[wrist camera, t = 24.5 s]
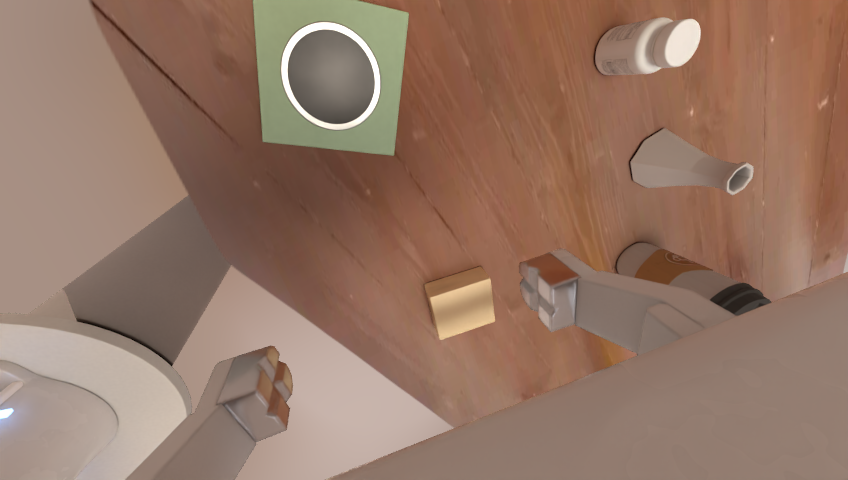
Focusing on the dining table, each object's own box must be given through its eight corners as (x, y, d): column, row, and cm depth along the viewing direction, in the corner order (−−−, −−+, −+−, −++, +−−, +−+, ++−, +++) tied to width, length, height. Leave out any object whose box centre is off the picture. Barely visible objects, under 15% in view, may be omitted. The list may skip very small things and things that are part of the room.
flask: (684, 155, 41) (777, 174, 32) (641, 196, 42) (720, 225, 34) (665, 116, 37) (764, 126, 29) (620, 162, 39) (700, 185, 30)
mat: (263, 140, 28) (262, 142, 27) (252, -24, 23) (250, -27, 22) (393, 154, 31) (394, 155, 31) (407, 14, 26) (409, 12, 26)
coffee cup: (665, 236, 47) (790, 294, 34) (640, 282, 50) (744, 351, 37) (624, 233, 45) (742, 294, 32) (600, 281, 48) (698, 354, 35)
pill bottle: (624, 74, 34) (695, 71, 27) (589, 76, 33) (654, 74, 26) (634, 26, 32) (714, 10, 25) (598, 27, 31) (670, 11, 24)
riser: (486, 307, 44) (495, 321, 42) (433, 325, 43) (439, 340, 41) (480, 265, 41) (490, 278, 38) (423, 283, 40) (429, 297, 37)
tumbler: (392, 119, 21) (366, 9, 18) (303, 141, 20) (260, 31, 17) (377, 109, 29) (357, 32, 26) (312, 125, 28) (284, 48, 25)
